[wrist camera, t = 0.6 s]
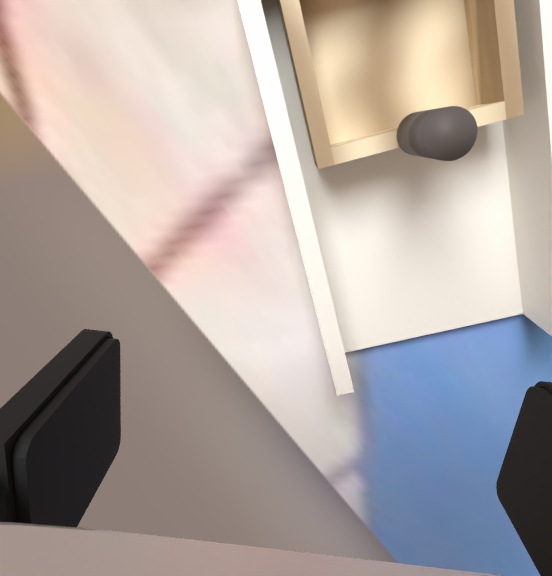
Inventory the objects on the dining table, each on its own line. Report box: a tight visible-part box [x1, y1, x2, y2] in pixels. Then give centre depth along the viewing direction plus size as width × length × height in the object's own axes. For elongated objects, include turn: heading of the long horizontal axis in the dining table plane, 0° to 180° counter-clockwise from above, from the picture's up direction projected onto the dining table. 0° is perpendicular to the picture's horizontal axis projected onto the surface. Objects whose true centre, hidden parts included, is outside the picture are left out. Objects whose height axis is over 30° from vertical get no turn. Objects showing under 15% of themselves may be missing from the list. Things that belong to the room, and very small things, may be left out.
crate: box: [277, 0, 524, 169], centre depth 25 cm, size 12×12×11 cm
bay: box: [237, 0, 552, 396], centre depth 30 cm, size 16×28×7 cm, turn 15°
